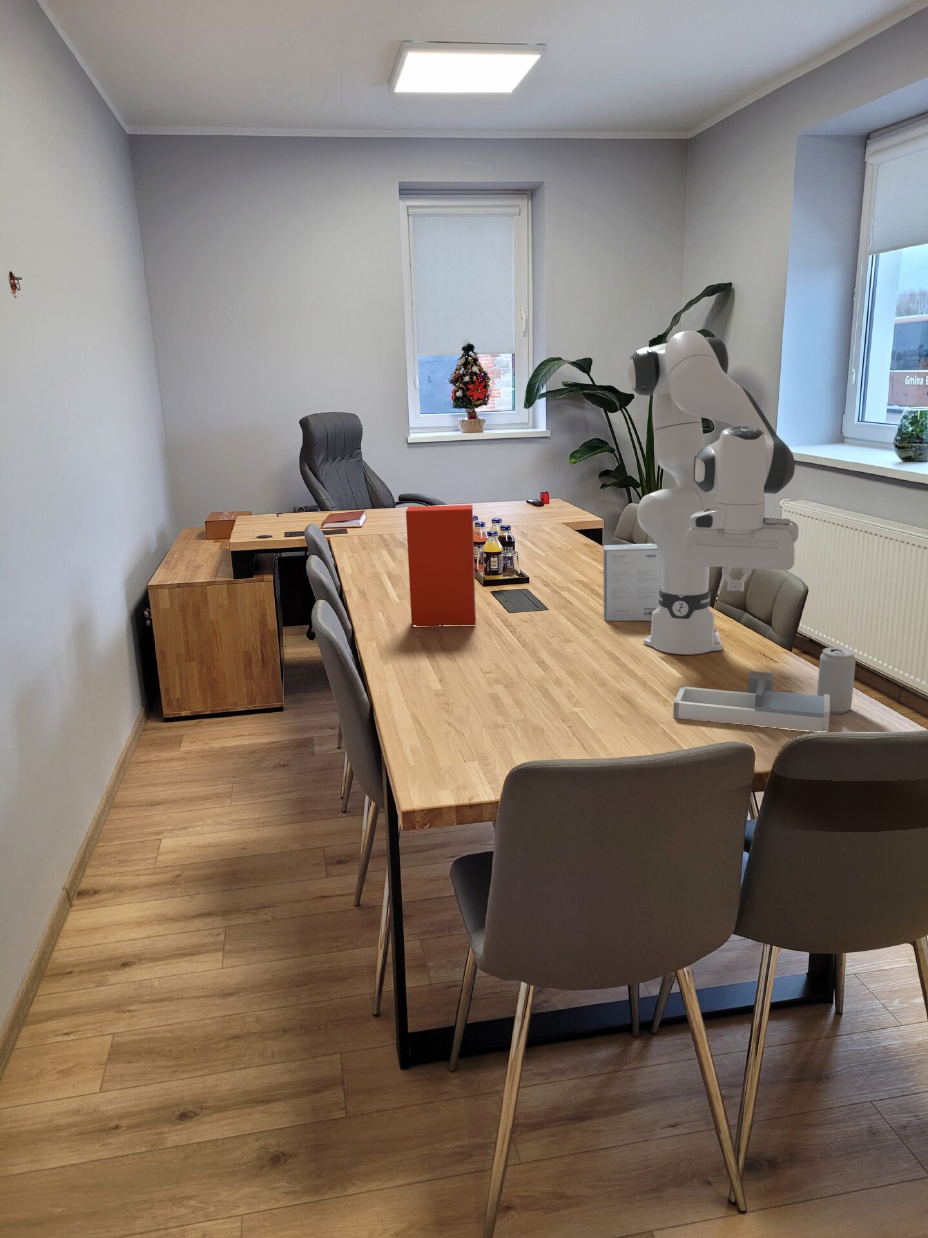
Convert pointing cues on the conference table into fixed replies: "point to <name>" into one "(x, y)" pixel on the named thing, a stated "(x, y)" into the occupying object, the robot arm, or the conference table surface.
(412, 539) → the file binder
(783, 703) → the cover
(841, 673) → the beverage can
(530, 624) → the conference table surface
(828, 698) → the tray
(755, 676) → the block
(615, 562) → the hard drive box
